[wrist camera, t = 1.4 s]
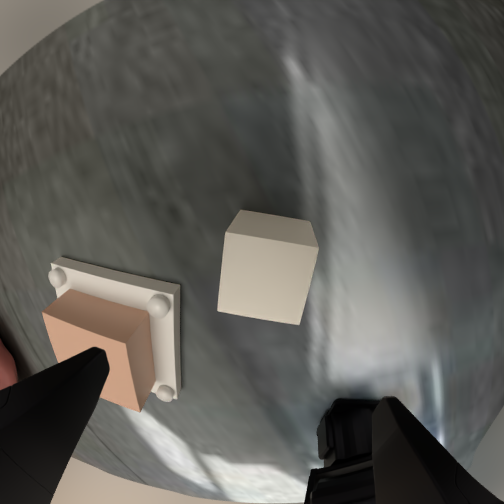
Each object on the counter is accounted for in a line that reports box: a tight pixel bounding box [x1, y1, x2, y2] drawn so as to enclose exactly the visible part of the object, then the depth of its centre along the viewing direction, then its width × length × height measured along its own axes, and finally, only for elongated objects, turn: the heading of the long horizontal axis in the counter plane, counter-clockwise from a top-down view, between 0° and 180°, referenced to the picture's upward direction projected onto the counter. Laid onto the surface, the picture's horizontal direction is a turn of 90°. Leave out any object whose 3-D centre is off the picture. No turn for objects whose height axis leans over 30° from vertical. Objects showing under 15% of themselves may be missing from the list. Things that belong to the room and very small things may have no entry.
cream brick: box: [217, 210, 319, 325], centre depth 16 cm, size 4×4×5 cm
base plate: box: [42, 257, 181, 412], centre depth 20 cm, size 12×12×6 cm
